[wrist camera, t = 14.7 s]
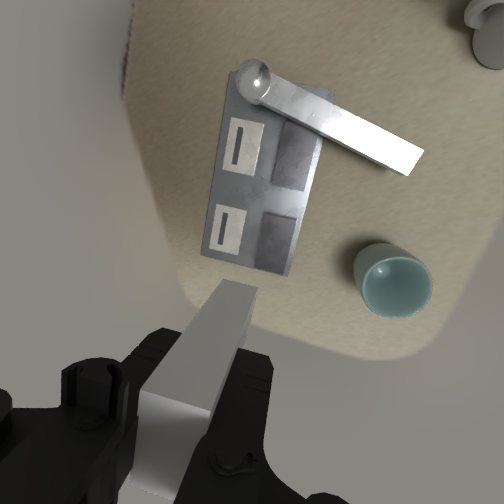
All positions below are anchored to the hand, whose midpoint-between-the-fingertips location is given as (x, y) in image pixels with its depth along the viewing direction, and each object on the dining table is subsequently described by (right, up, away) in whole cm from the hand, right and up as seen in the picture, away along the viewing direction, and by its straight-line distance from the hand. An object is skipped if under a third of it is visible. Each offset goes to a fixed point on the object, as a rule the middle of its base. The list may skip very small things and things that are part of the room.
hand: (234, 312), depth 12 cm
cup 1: (+19, +1, +31) cm, 36 cm away
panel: (+2, +13, +30) cm, 33 cm away
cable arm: (+9, +18, +23) cm, 31 cm away
